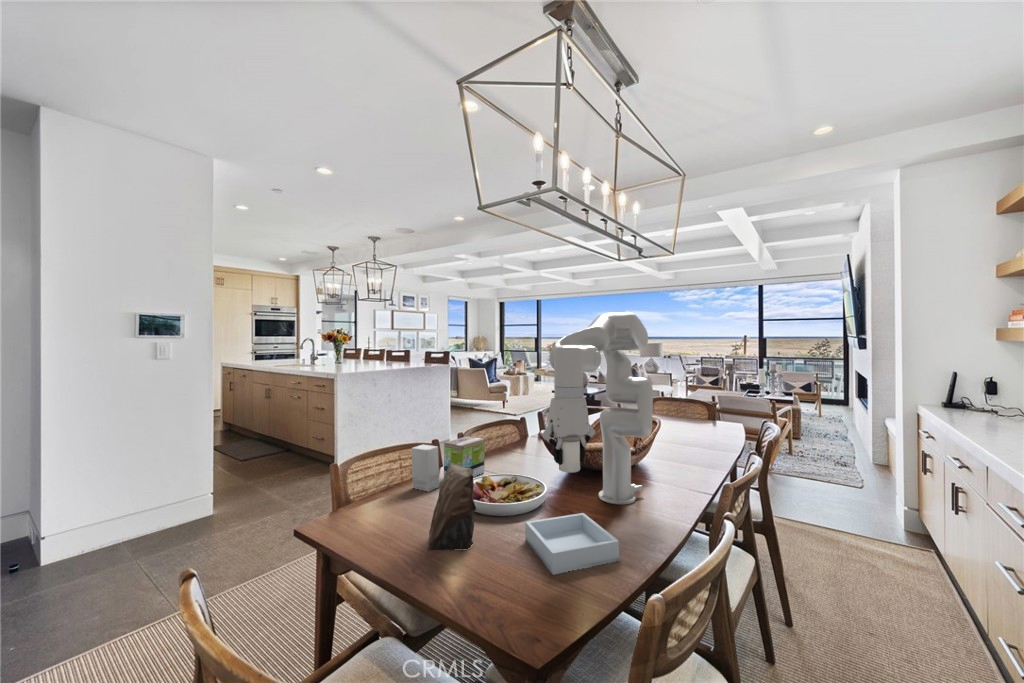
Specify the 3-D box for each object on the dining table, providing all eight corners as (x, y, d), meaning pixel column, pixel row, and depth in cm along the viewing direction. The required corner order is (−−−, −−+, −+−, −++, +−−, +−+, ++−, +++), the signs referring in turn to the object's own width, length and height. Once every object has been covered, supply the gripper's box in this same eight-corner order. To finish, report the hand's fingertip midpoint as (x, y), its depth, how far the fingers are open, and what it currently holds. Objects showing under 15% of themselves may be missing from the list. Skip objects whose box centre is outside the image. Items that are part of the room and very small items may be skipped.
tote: (583, 530, 118) (583, 512, 118) (619, 561, 101) (619, 541, 101) (525, 540, 113) (525, 521, 113) (552, 574, 96) (552, 553, 96)
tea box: (462, 483, 159) (462, 445, 159) (443, 479, 164) (442, 442, 164) (485, 473, 172) (485, 437, 172) (466, 469, 177) (466, 435, 177)
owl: (444, 529, 120) (443, 460, 120) (485, 533, 117) (485, 463, 117) (425, 550, 107) (425, 474, 107) (471, 555, 105) (470, 477, 105)
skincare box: (439, 487, 155) (439, 446, 155) (427, 492, 149) (427, 450, 149) (423, 483, 159) (423, 443, 159) (411, 488, 153) (410, 447, 154)
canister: (574, 464, 111) (573, 431, 111) (584, 471, 105) (584, 436, 105) (554, 467, 109) (554, 433, 109) (564, 473, 103) (564, 438, 104)
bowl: (514, 481, 162) (514, 461, 162) (565, 505, 137) (564, 482, 137) (444, 497, 145) (444, 475, 145) (488, 529, 120) (487, 502, 120)
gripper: (590, 390, 114) (591, 455, 114) (533, 392, 108) (533, 461, 108) (605, 393, 106) (605, 462, 106) (544, 396, 101) (544, 469, 101)
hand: (569, 461), depth 107 cm, fingers closed on canister, 5 cm apart
